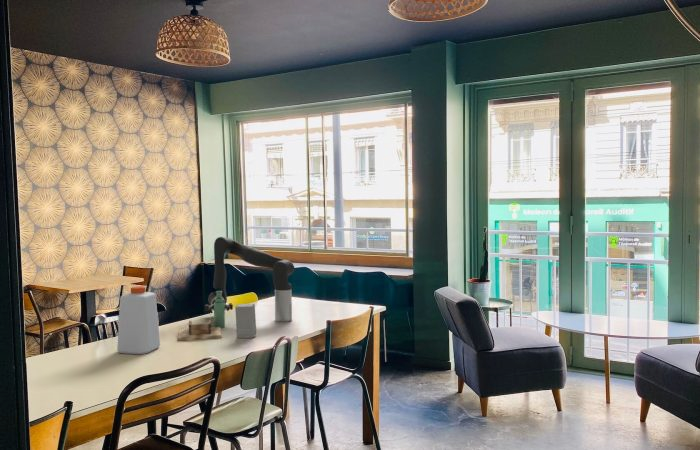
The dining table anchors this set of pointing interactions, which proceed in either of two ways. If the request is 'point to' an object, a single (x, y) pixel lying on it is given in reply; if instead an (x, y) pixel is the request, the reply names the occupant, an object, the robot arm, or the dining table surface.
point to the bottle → (219, 311)
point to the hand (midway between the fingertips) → (219, 309)
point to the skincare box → (245, 320)
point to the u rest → (199, 332)
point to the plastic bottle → (138, 322)
